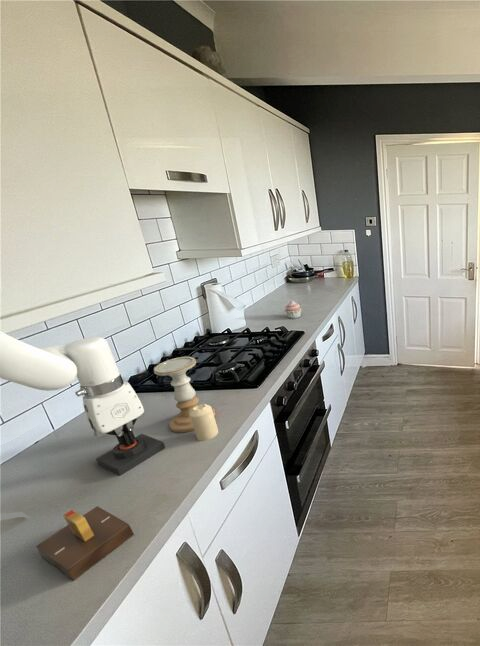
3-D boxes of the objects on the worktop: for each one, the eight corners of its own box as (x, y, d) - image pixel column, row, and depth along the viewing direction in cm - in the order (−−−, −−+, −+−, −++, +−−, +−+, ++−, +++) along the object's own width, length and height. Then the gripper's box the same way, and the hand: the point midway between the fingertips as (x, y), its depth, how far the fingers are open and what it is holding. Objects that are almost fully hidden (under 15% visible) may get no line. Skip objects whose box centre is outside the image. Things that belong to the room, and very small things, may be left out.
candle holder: (182, 411, 115) (163, 357, 107) (222, 407, 116) (206, 353, 109) (161, 435, 103) (139, 376, 96) (206, 430, 105) (187, 371, 98)
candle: (209, 427, 106) (200, 399, 103) (222, 430, 105) (214, 402, 101) (192, 438, 102) (183, 410, 98) (206, 442, 100) (197, 413, 96)
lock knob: (94, 535, 70) (84, 516, 68) (85, 542, 69) (74, 522, 67) (82, 527, 72) (72, 508, 70) (73, 533, 70) (62, 514, 68)
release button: (126, 455, 92) (124, 450, 92) (118, 451, 94) (116, 446, 93) (141, 446, 95) (139, 441, 95) (133, 443, 97) (131, 438, 96)
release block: (120, 476, 89) (115, 463, 87) (98, 465, 93) (93, 453, 91) (165, 448, 98) (161, 436, 97) (144, 439, 102) (139, 428, 100)
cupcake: (286, 315, 202) (283, 299, 199) (303, 313, 205) (300, 297, 202) (285, 321, 194) (282, 304, 191) (302, 318, 197) (300, 302, 193)
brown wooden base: (73, 580, 65) (66, 569, 64) (42, 556, 69) (35, 545, 68) (134, 534, 73) (129, 523, 72) (102, 515, 78) (97, 505, 77)
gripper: (73, 404, 80) (103, 466, 86) (145, 374, 92) (166, 430, 99) (57, 398, 82) (87, 458, 89) (128, 369, 95) (150, 424, 102)
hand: (128, 443), depth 94 cm, fingers closed
